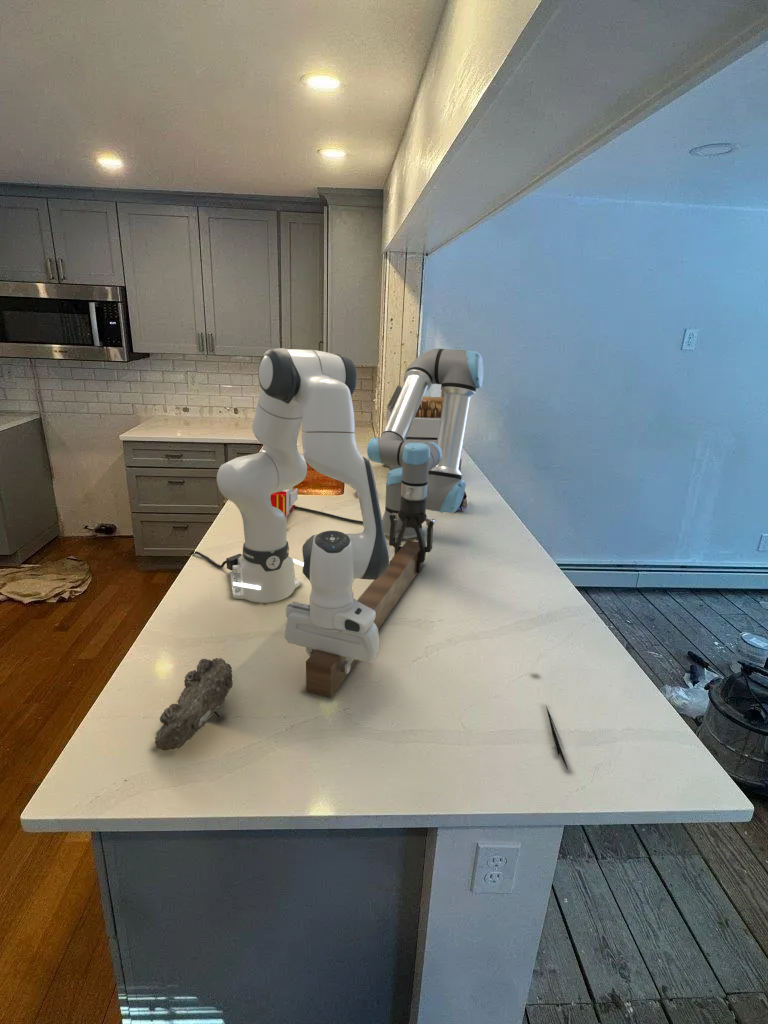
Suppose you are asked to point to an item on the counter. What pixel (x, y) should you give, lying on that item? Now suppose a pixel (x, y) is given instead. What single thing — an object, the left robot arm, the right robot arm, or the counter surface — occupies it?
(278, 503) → the toy
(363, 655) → the left robot arm
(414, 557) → the bar
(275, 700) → the counter surface
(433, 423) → the white storage bin
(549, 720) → the feather
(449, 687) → the counter surface
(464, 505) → the figurine character
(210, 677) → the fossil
